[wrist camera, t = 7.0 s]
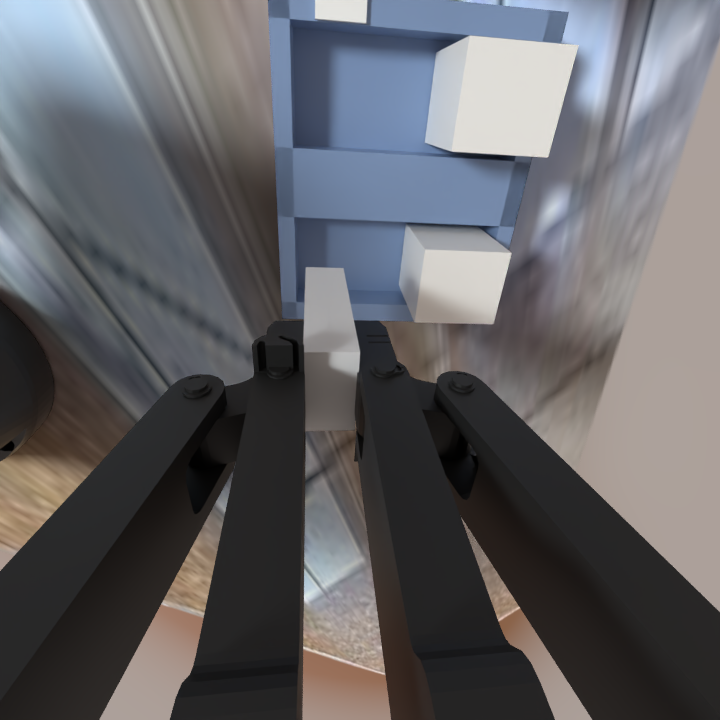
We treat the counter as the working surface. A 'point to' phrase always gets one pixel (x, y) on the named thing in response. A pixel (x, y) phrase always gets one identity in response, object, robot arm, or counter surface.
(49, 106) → the counter surface
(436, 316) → the white block
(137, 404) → the counter surface
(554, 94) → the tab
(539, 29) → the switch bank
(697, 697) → the robot arm
